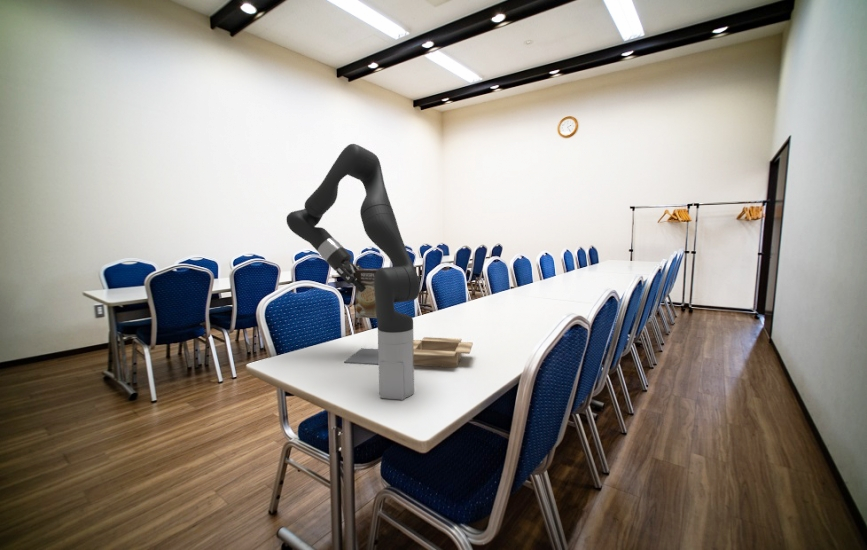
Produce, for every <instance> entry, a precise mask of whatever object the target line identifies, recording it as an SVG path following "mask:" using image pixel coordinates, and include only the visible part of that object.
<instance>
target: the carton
mask: <svg viewBox="0 0 867 550" xmlns="http://www.w3.org/2000/svg"><path fill="white" fill-rule="evenodd" d="M413 345H414V366H427V367H428V366H429V367H442V368H443V367H445V368H447V367H448V368H458V365H459V362H460V360H461V357H462V354H464V355H465V354H467V355H468V354H470V353H471V351H472V347H473V345H474V342H468V341H462V338H453V337H451V338H450V337H448V338H447V337H428V336H426V337H425V336H424V337H423V338H422V340H421V339H420V340H419V339H413Z"/></svg>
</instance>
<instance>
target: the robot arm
mask: <svg viewBox="0 0 867 550" xmlns="http://www.w3.org/2000/svg"><path fill="white" fill-rule="evenodd" d="M381 166H382V165H381V162H380V160H379V157H378V156H377V155H376V154H375V153H374V152H372V151H370V150H368V149H366V148H365V147H362V146H360V145H359V144H356V143H350V144H348V145H347V146H345V148H343V149H342V150H341V152H340V154H339V155H338V157H337V158H336V159H335V161H334V163H333V164H332V166H331V168H330V169H329V171H328V172H327V174H326V176H325V177H324V179H323V180H322V182H321V183H320V184H319V186H318V187H317V188H316V189H315V190H314V191H313V193H312V194H311V195H310V196H309V197H308V198H307V199H306V200H305V201H304V208H303V209H299V210H295V211H294V210H293V211H292V212H289V213H288V214H287V216H286V224H287V227H288V228H289V229H290V230H291V231H292V233H294V234H295V235H296V236H298V237H299V238H301V239H302V240H304V241H306V242H308V243H309V245H311V246H312V247H313V248H314V249H315V250H316V251H317V253H318V254H319V255H320V256H321V258H323V260H324V261H325V262H326V263H327V264H328V265H329V266H330V267H331V268H332V269H333V271H336V273H337V274H338V276H340V278H342V280H344V281H345V282H346V283H347V284H348V285H352V286H354V287H356V288H357V289H358V290H359V291H360V292H363V291H364V290H365V289H366V287H365V286H364V285H363V284H362V283H361V282H360V281H359V280H358V279H357V277H356V276H355V270H358V269H363V268H362V267H361V265H359V263H353V262H351V260H352V255H351V254H350V253H349V251H348V250H347V249H346V248H344V246H343V245H342V244H341V242H339V241H337V240H336V239H335V238H334V237H333V236H332V235H331V234H330V232H328V231H327V229H325V228H324V227H319V226H317V225H318V224H319V223H320V221H321V220H322V218H323V216H324V214H325V213H327V212H328V210H330V209H331V208H332V207H333V205H334V204H335V203H336V200H337V198H338V193H339V191H338V190H339V184H340V182H341V181H342V179H344V177H346V176H349V177H352V178H354V179H356V180H358V181H360V182H362V184H363V187H364V189H365V197H364V199H363V201H362V203H361V207H360V211H359V212H360V217H361V223H362V225H363V229H364V232H365V235H366V236H367V237H368V238H369V240H370V241H371V242H372V243H374V245H375V246H377V247H378V248H379V249H380V250H381V251H382V252H384V254H385V255H386V256H387V257H388V259H389V260H390V262H391V263H392V265H393V266H385V267H379V268H377V269H378V270H377V271H376V273H375V277H374V292H375V303H376V317H377V318H376V323H377V324H376V325H377V349H378V361H379V365H378V386H379V387H378V391H379V398H380V399H388V400H389V399H390V400H402V401H403V400H405V399H406V398H408V397H411V396H412V395H414V393H415V365H414V345H413V340H414V319H413V317H412V316H411V315H408V314H406V313H405V314H404V313H401V312H398V311H397V310H395V309H396V308H395V303H403V302H411V301H414V300H416V299H417V298H418V297H419V295H420V291H421V290H420V287H421V285H420V280H419V279H420V278H419V276H418V272H417V270H416V268H415V265H414V263H413V261H412V259H411V257H410V254H409V253H408V252H409V251H408V250H407V248H406V246H405V242H404V240H403V238H402V235H401V232H400V228H399V226H398V221H397V218H396V215H395V213H394V209H393V207H392V205H391V201H390V199H389V194H388V192H387V188H386V185H385V180H384V175H383V171H382V170H383V169H382V167H381ZM316 226H317V227H316ZM357 280H358V281H357Z"/></svg>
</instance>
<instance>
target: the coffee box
mask: <svg viewBox="0 0 867 550" xmlns="http://www.w3.org/2000/svg"><path fill="white" fill-rule="evenodd" d="M378 269H379V268H362V269H358V270H355V276H356V277H357V279H358V280H359V281H360V282H361V283H362V284H363V285H364V286H365V287H366V289H365V290H364V291H363V292H360V291H359V290H358V289H357V288H356V287H355V286H354V287H355V318H363V319H377V317H376V303H375V292H374V277H375V273H376V271H377V270H378ZM358 280H357V281H358Z"/></svg>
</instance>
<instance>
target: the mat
mask: <svg viewBox="0 0 867 550" xmlns="http://www.w3.org/2000/svg"><path fill="white" fill-rule="evenodd" d="M343 363H344V364H359V365H374V366H379V361H378V348H360V349H359V350H357V351H356V352H355V353H353V354H352V355H351V356H349V357H348V358H347V359H346V360H344V361H343Z"/></svg>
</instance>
